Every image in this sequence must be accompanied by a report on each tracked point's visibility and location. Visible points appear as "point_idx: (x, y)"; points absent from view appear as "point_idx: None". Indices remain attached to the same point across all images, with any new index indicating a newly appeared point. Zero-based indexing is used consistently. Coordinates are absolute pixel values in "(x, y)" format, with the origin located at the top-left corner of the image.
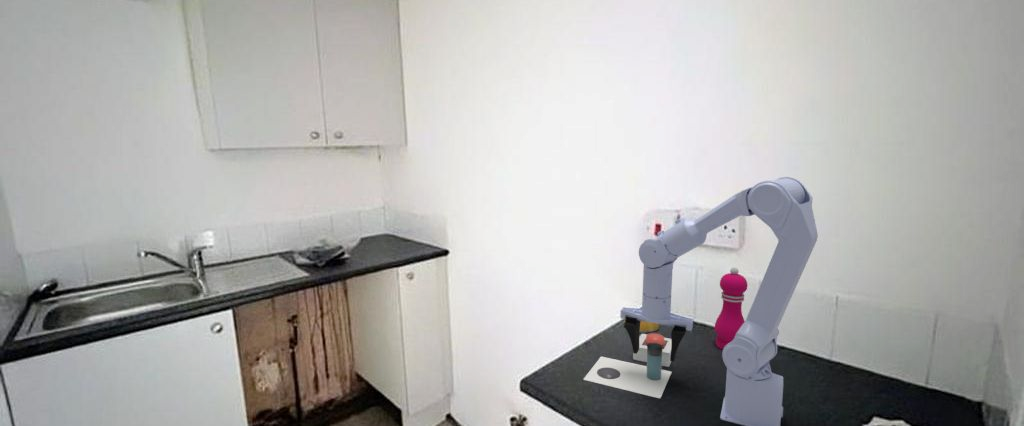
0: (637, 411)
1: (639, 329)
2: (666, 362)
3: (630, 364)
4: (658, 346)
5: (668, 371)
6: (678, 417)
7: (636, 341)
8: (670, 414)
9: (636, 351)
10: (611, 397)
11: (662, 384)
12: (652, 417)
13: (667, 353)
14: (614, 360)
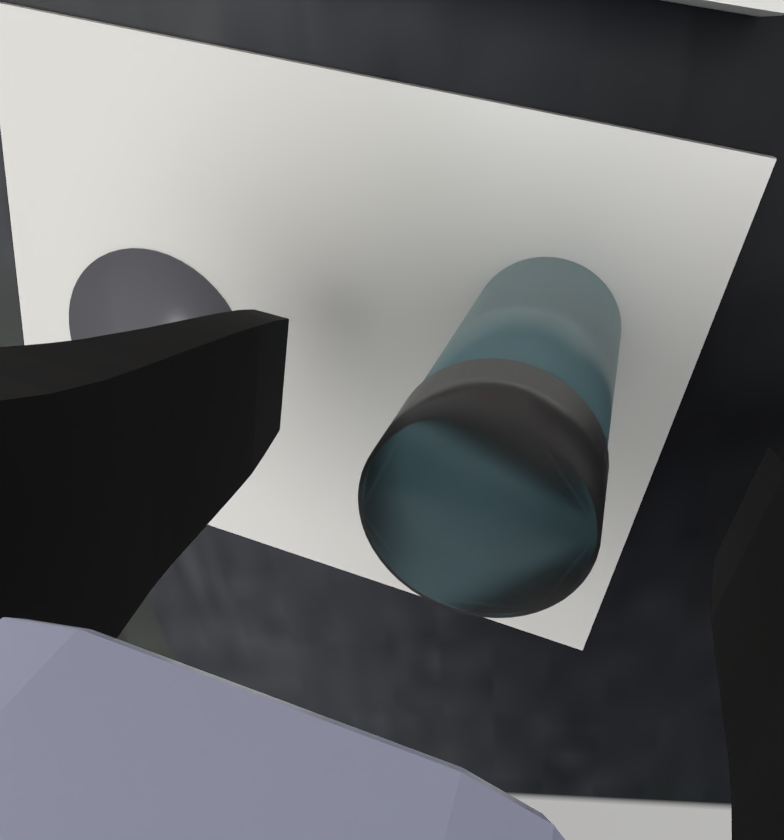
0: (432, 747)
1: (89, 402)
2: (731, 9)
3: (294, 107)
4: (531, 529)
5: (732, 164)
6: (691, 804)
7: (185, 508)
8: (640, 778)
9: (264, 454)
10: (262, 626)
11: (622, 456)
12: (521, 795)
13: (757, 7)
14: (128, 59)
